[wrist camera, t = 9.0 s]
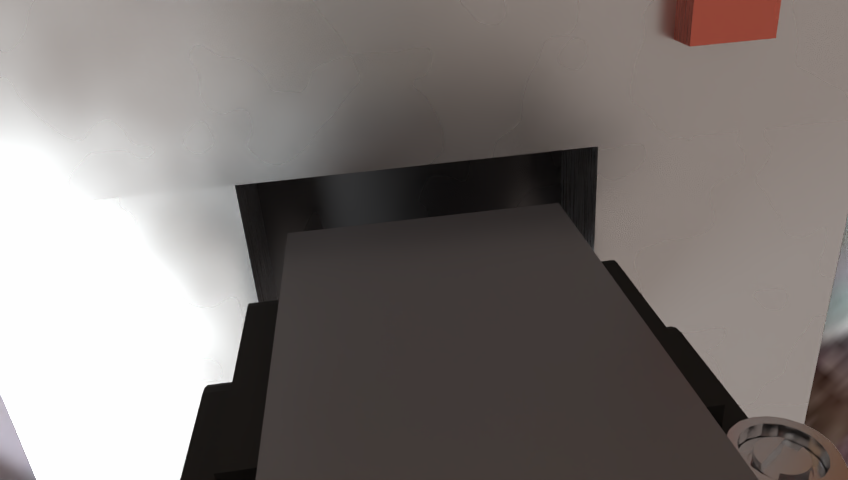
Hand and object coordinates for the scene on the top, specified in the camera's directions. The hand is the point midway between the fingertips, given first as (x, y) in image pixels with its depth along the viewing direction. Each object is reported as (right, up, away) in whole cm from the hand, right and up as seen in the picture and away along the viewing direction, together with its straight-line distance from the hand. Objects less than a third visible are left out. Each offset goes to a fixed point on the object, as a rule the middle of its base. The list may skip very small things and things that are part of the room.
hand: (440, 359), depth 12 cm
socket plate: (-1, +2, +4) cm, 4 cm away
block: (0, 0, +1) cm, 1 cm away
